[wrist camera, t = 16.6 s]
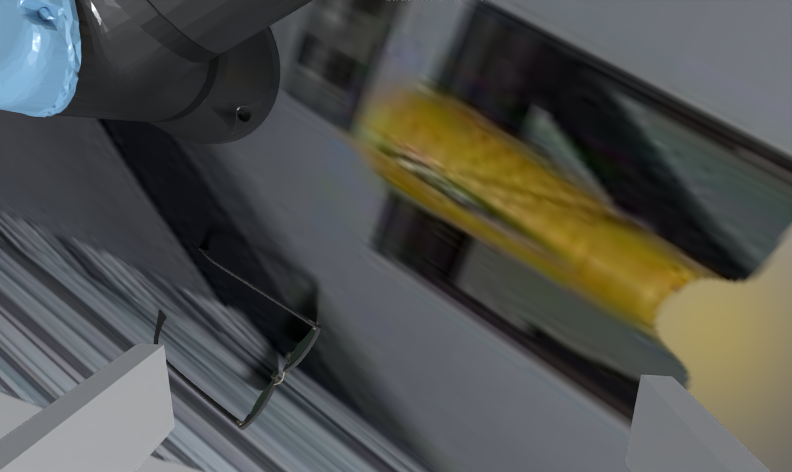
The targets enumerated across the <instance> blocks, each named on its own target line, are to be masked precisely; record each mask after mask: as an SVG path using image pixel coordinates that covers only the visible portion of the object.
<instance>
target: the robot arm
mask: <svg viewBox="0 0 792 472" xmlns="http://www.w3.org/2000/svg"><path fill="white" fill-rule="evenodd" d="M311 1H312V0H0V109H2V110H7V111H13V112H19V113H24V114H26V115H30V116H39V117H46V116H53V115H58V116H73V117H87V118H102V119H116V120H130V121H145V122H150V123H152V124H153V125H155V126H157V127H158V128H160V129H162V130H164V131H166V132H167V133H169V134H171V135H173V136H175V137H177V138H180V139H183V140H186V141H190V142H194V143H203V144H220V143H228V142H232V141H235V140H238V139H241V138H243V137H245V136H246V135H248V134H250V133H251V132H253V131H254V130H255V129H256V128H257V127H258V126H259V125H260V124H261V123H262V122H263V121H264V120H265V118H266V117H267V116H268V114H269V112H270V111H271V109H272V107H273V104H274V102H275V99H276V96H277V93H278V88H279V82H280V63H279V56H278V51H277V48H276V44H275V41H274V38H273V36H272V34H271V32H270V30H269V28H268V26H270V25H272V24H274V23H275V22H277V21H279V20H280V19H282V18H284V17H285V16H287V15H289V14H290V13H292V12H294V11H296V10H297V9H299V8H301V7H302V6H304V5H306V4H307V3H309V2H311ZM174 427H175V424H174V417H173V409H172V402H171V394H170V387H169V380H168V372H167V365H166V357H165V350H164V345H158V344H142V343H138V344H137V345H135V346H134V347H132V348H131V349H130V350H128V351H127V352H125V353H124V354H122V355H121V356H120V357H118V358H117V359H115V360H114V361H112V362H111V363H109V364H108V365H107V366H105V367H104V368H102V369H101V370H99V371H98V372H96V373H95V374H94V375H92V376H91V377H89V378H88V379H86V380H85V381H83V382H82V383H81V384H79V385H78V386H76V387H75V388H73V389H72V390H71V391H69V392H68V393H66V394H65V395H63V396H62V397H60V398H59V399H58V400H56V401H55V402H53V403H52V404H50V405H49V406H47V407H46V408H45V409H43V410H42V411H41V412H39V413H37V414H36V415H34V416H33V417H32V418H30V419H29V420H27V421H26V422H24V423H23V424H22V425H20V426H19V427H17V428H16V429H15V430H13V431H11V432H10V433H9V434H7V435H6V436H4V437H3V438H1V439H0V472H135V471H136V470H137V469H138V468H139V467H140V465H141V464H142V463H143V462H144V461H145V460H146V459H147V458H148V457H149V456H150V454H151V453H152V452H153V451H154V450H155V449H156V448H157V447H158V445H159V444H160V443H161V442H162V441H163V440H164V439H165V438H166V436H167V435H168V434H169V433H170V432H171V431H172V430H173V429H174ZM625 464H626V466H627V467H628V469H629V471H630V472H771V471H770V470H769V469H768V468H767V467H765V466H764V465H763V464H762V463H761V462H760V461H759V460H758V459H757V458H756V457H755V456H754V455H753V454H752V453H751V452H750V451H749V450H748V449H747V448H746V447H745V446H744V445H743V444H742V443H741V442H740V441H738V440H737V439H736V438H735V437H734V436H733V435H732V434H731V433H730V432H729V431H728V430H727V429H726V428H725V427H724V426H723V425H722V424H721V423H720V422H719V421H718V420H717V419H716V418H715V417H714V416H712V415H711V414H710V413H709V412H708V411H707V410H706V409H705V408H704V407H703V406H702V405H701V404H700V403H699V402H698V401H697V400H696V399H695V398H694V397H693V396H692V395H691V394H690V393H689V392H688V391H687V390H685V389H684V388H683V387H682V386H681V385H680V384H679V383H678V382H677V381H676V380H675V379H674V378H673V377H671V376H655V375H641V379H640V384H639V390H638V395H637V400H636V405H635V410H634V416H633V421H632V426H631V431H630V437H629V442H628V447H627V452H626V457H625Z"/></svg>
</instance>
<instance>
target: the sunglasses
mask: <svg viewBox="0 0 792 472" xmlns="http://www.w3.org/2000/svg"><path fill="white" fill-rule="evenodd" d="M199 250H200V251H201V252H202V253H203V254H204V255H205V256H206V257H207V258H208V259H209V260H210V261H211V262H213V263H214V264H216V265H217V266H219V267H220V268H222V269H223V270H225V271H226V272H228V273H229V274H231V275H233V276H234V277H236V278H237V279H239V280H241V281H242V282H244V283H245V284H247V285H248V286H250V287H252V288H253V289H255V290H256V291H258V292H260V293H261V294H263V295H264V296H266V297H267V298H269V299H271V300H272V301H274V302H275V303H277V304H279V305H280V306H282V307H283V308H285V309H287V310H288V311H290V312H291V313H293V314H294V315H296V316H297V317H299V318H300V319H302V320H303V321H305V322H306V323H308V324H309V325H311V326H313V327H312V329H311V330H310V332H309V333H308V334H307V335H306V337H305V338H304V339H303V340H302V341H301V342H300V343H299V344H298V346H297V347H296V348H295V350H294V352H293V353H291V352H288V353H287V354H286V357H285V359H286V360H289V363H287V364H286V365H285V367H284V370H283V378H284V375H285V373H288V372H289V371H291V370H292V369H293V368H294V367H295V366H296V365H298V364H299V363H300V362H301V360H302V359H303V358H304V357H305V356H306V354H307V353H308V352H309V350H310V349H311V347H312V346H313V344H314V342H315V341H316V339H317V337H318V335H319V333H320V330H321V325H319V323H318V322H316V323H315V322H313V321H312V320H310V319H309V318H307V317H306V316H304V315H302V314H301V313H299V312H298V311H296V310H294V309H293V308H291V307H289V306H288V305H286V304H285V303H283V302H281V301H280V300H278V299H276V298H275V297H273V296H271V295H270V294H268V293H267V292H265V291H263V290H262V289H260V288H258V287H257V286H255V285H254V284H252V283H250V282H249V281H247V280H246V279H244V278H242V277H241V276H239V275H237V274H236V273H234V272H232V271H231V270H229V269H227V268H226V267H224V266H223V265H221V264H219V263H218V262H216V261H215V260H213V259H212V258H211V257H210V256H209V254H208V251H207V250H204V249H200V248H199ZM166 318H167V317H166V316H165V315H164V313H163V312H162V311H161V310H160V311H159V315H158V320H157V326H156V331H155V335H154V344H158V338H159V333H160V330H161V327H162V325H163V323H164V321H165V319H166ZM166 365H167V366H168V367H169V368H170V369H171V370H172V371H173V372H174V373H175V374H176V375H177V376H178V377H179V378H180V379H182V380H183V381H184V382H185V383H186V384H187V385H188V386H190V387H191V388H192V389H193V390H194V391H195V392H196V393H198V394H199V395H200V396H201V397H202V398H203V399H205V400H206V401H207V402H208V403H209V404H210V405H212V406H213V407H214V408H215V409H216V410H218V411H219V412H220V413H221V414H223V415H224V416H225V417H226V418H227V419H229V420H230V421H231V422H232V423H234V424H235V425H236V426H237V427H238V428H239V429H241V430H244V429H245V428H247V427H248V426H249V425H250V424H251V423H252V422H253V421H254V420H255V419H256V418H257V417H258V416H259V415H260V413H261V412H262V411H263V409H264V408H265V406H266V404H267V403H268V401H269V399H270V397H271V396H272V394H273V392H274V390H275V388H276V385H277V384H279V383H281V381H282V380H283V378H282V379H281V380H280V381H277V378H278V374H279V372H278V371H276V370H275V371H273V375H272V376H275V377H274V378H273V377H272V376H271V378H272V379H273V380H272V381H271V383H270V384H269V385H268V386H267V387H266V388H265V389H264V391H263V392H262V393H261V395H260V396H259V398H258V399H257V401H256V403H255V405H254V407H253V409H252V411H251V413H250V414H248V416H247V417H246V418H245V420H244V421H240V420H239V419H237V418H236V417H235V416H233V415H232V414H231V413H229V412H228V411H227V410H226V409H224V408H223V407H222V406H221V405H219V404H218V403H217V402H216V401H214V400H213V399H212V398H211V397H209V396H208V395H207V394H206V393H204V392H203V391H202V390H201V389H199V388H198V387H197V386H196V385H195V384H193V383H192V382H191V381H190V380H189V379H187V378H186V377H185V376H184V375H183V374H182V373H180V372H179V371H178V370H177V369H176V368H175V367H174V366H173V365H172V364H170V363H169V362H168V361H167V359H166Z"/></svg>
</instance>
